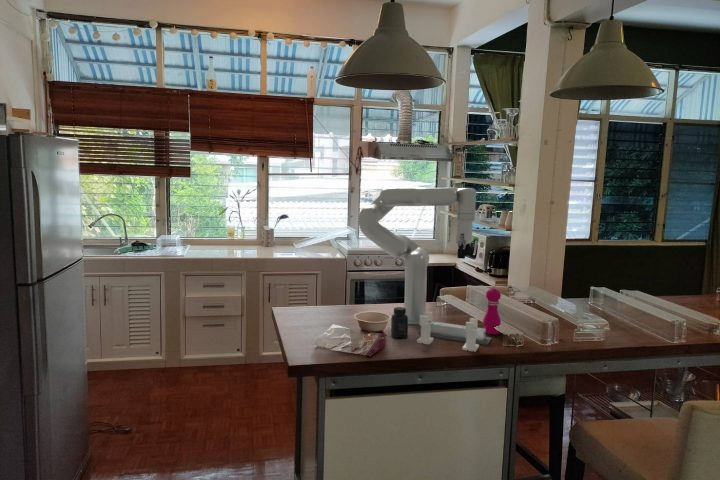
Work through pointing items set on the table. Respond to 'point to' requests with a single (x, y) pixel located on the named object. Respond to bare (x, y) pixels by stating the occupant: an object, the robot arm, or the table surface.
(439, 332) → the rail
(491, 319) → the pepper mill
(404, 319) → the supplement bottle
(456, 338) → the mat
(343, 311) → the table surface
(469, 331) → the post right
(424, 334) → the post left
